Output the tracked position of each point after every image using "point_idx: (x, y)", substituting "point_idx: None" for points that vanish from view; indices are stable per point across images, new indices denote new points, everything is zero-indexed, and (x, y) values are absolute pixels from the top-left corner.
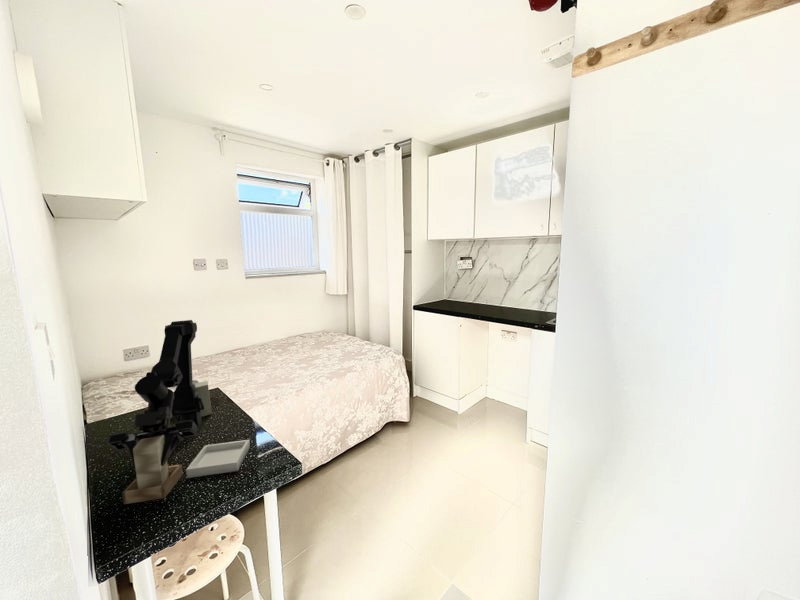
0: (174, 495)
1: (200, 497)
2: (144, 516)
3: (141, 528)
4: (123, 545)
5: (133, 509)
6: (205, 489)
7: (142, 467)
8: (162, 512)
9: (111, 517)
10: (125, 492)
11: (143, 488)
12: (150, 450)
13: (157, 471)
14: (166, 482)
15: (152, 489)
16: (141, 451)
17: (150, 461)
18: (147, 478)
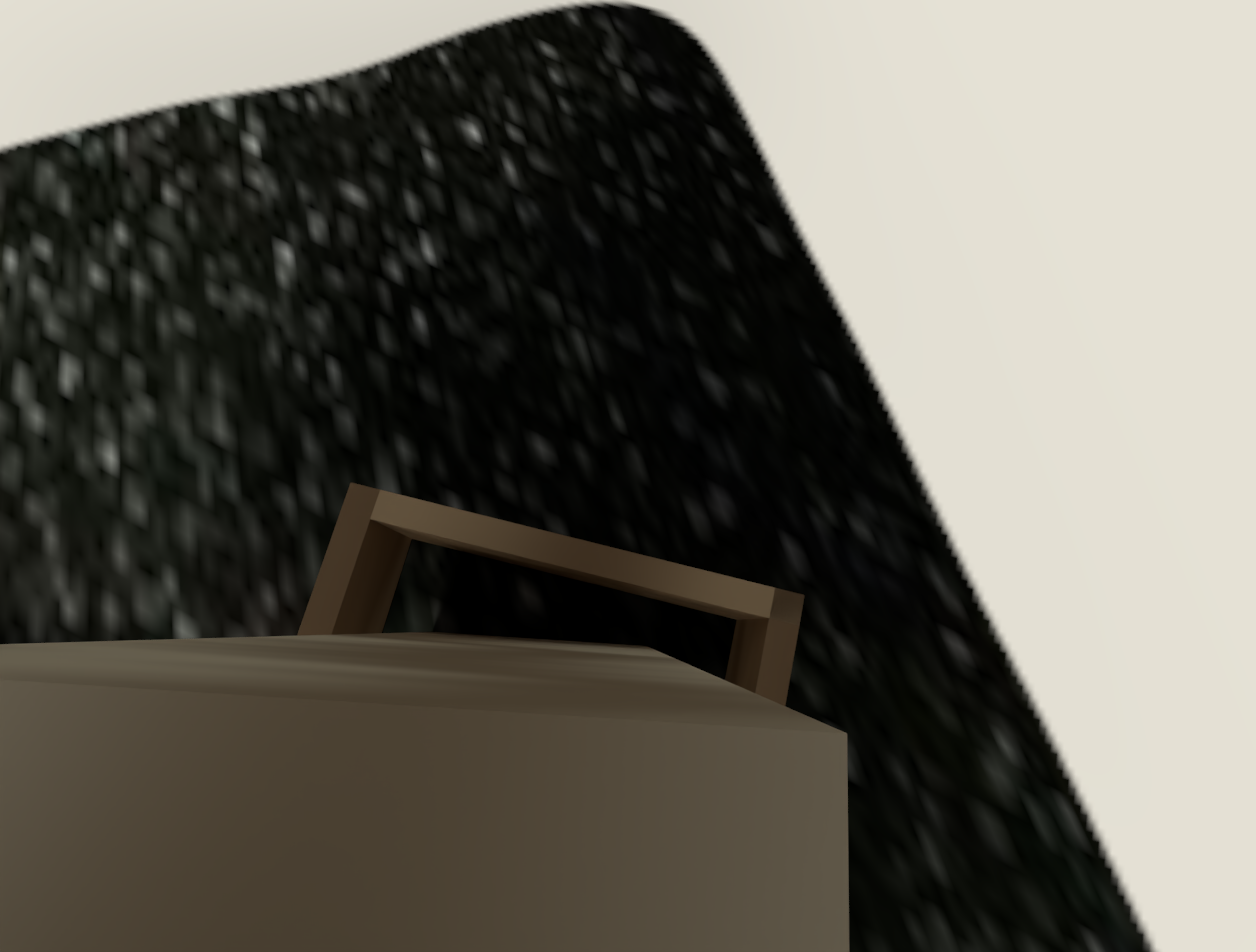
0: (309, 506)
1: (69, 346)
2: (517, 316)
3: (502, 179)
4: (576, 67)
5: (642, 467)
6: (17, 455)
7: (567, 655)
8: (379, 296)
9: (794, 441)
10: (763, 586)
11: (574, 565)
12: (181, 668)
13: (371, 636)
14: (325, 565)
15: (472, 514)
16: (487, 679)
17: (387, 651)
18: (534, 645)
